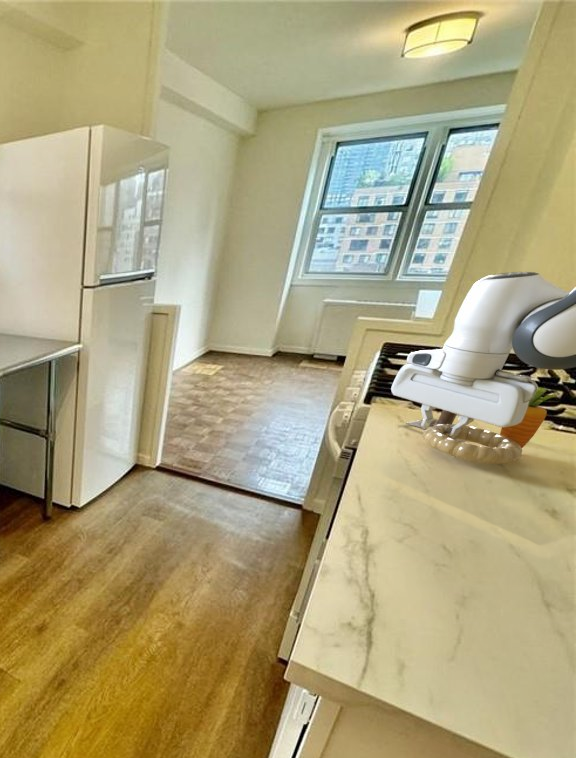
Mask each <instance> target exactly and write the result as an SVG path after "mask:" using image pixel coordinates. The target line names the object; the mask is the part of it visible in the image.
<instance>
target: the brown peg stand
mask: <svg viewBox="0 0 576 758" xmlns="http://www.w3.org/2000/svg"><path fill="white" fill-rule="evenodd" d="M457 415H458V414H455V413H452V412H449V411H445V410H442V411H441V413H440V414H439V417H438V419H437V422H436V423H435V425H439V424H454V422H455V420H456V418H457ZM422 421H423V419H420V420H419V419H418V420H413V421H409V422H405V424H406V425H409V426H411V427H415V428H418V429H421V430H422V431H425V430H426V429H427V428H426V427H423V426H421V423H422ZM451 439H453V438H451Z"/></svg>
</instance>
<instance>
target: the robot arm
mask: <svg viewBox="0 0 576 758" xmlns="http://www.w3.org/2000/svg"><path fill="white" fill-rule="evenodd" d="M511 351H513V352H514V354H515V356H516V357H517V358H518V359H519V360H520V361H521V362H523V363H525V364H526V365H529V366H531V367H534V368H537V369H542V370H550V371H558V370H569V369H573V368H576V286H575V287H574V288H573V289H572V290H571V291H568V290H565V289H563V288H561V287H559V286H557V285H555V284H554V283H552V282H550V281H549V280H547V279H545V278H544V277H543V276H542V275H541V274H540V273H538V272H534V271H512V272H501V273H495V274H491V275H487V276H485V277H482V278H481V279H480V280H478V281H476V282H475V283H474V284H473V285H472V286H471V288H470V289H469V290H468V292H467V293H466V296H465V298H464V299H463V301H462V304H461V305H460V307H459V309H458V311H457V313H456V316H455V318H454V321H453V330H452V332H451V334H450V335H449V337H448V338H447V339H446V341H444V345H443V347H442V348H434V349H427V350H418V351H413V352H410V353H409V354H408V355H407V358H406V362H407V363H406V364H404V365H402V366H401V367H400V369H399V371H398V372H397V374H396V375H395V378H394V379H393V382H392V384H391V388H390V390H391V394H392V395H393V396H396V397H398V398H401V399H405V400H409V401H411V402H415V403H419V404H421V407H420V412H421V416H422V418H423V419H422V420H423V421H422V423H421V426H423V427H426V428H428V427H430V426H434V425H435V423H436V422H437V420H438V419H437V418H434V414H433V410H436V409H439V410H442V411H443V410H445V411H449V412H452V413H455V414H457V415H458V418H457V421H459V422H458V423H457V424H454V425H451V426H450V425H449V426H447V428H446V431H445V432H444V433H445V434H447V435H450V436H453V437H454V436H457V435H458V434H459V433H460V431H461V428H463V427H465V426H468V425H470V424H472V423H473V422H474V421H475V420H476V421H479V422H483V423H486V424H490V425H492V426H496V427H498V428H499V427H500V428H502V427H510V426H514V425H517V424H519V423H521V422H522V420H523V418H524V416H525V413H526V411H527V408H528V404H529V401H530V400H531V399H532V398H533V397H534V395H535V393H536V391H537V389H538V388H539V386H538V384H537V383H536V381H535V380H533V379H532V377H531V376H529V375H525V374H517V373H515V372H511V371H506V370H503V367H504V365H505V363H506V361H507V359H508V357H509V355H510V353H511Z"/></svg>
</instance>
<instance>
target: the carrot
mask: <svg viewBox="0 0 576 758" xmlns="http://www.w3.org/2000/svg"><path fill="white" fill-rule="evenodd" d="M545 393H547V389H545V388H544V387H538V389H537V391H536V393H535V395H534V397H533V398H532V399H531V400H530V401H529V404H528V408H527V411H526V413H525V416H524V418H523V420H522V422H521V423H519V424H517V425H514V426H510V427H501V429H500V432H499V434H500V435H503V436H505V437H507V438H509V439H511V440H513V441H515V442H516V443H517V444H518V445H520V446H521V448H522V449H523V448H524V447H525V446H526V445H527V444H528V443H529V442H530V441H531V439H533V437H534V436H535V434H536V433H537V432H538V430H539V428H540V427H541V426H542V424H543V422H544V420H545V419H546V418H547V414H548V413H547V412H548V411H547V410H546V408H544V407H542V406H539V405H540V404H541V403H543V402H545V401H546V400H549V399H553V398H557V397H558V395H557V394H556V393H553V394H547V395H545V396H542V395H544V394H545Z"/></svg>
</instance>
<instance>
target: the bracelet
mask: <svg viewBox="0 0 576 758" xmlns="http://www.w3.org/2000/svg"><path fill="white" fill-rule="evenodd" d="M449 425H450V426H451V425H455V424H454V423H452V424H439V425H434V426H430V427H428V428H427V429H426V430H424V432H423V433H422V438H423V440H424V441H425V442H426V444H427V445H428V446H429V447H432V448H433V449H434V450H437V451H439V452H442V453H445V454H447V455H449V456H453V457H456V458H460V459H463V460H467V461H472V462H473V461H474V462H478V463H484V464H485V463H486V464H508V463H512V462H516V461H518V460H519V459H520V458H521V457H522V454H523V448H521V446H520V445H518V444H517V443H516V442H515V441H513V440H511V439H509V438H507V437H505V436H503V435H500V433H497V432H493V431H490V430H487V429H483V428H479V427H474V426H471V425H470V426H468V425H466V426H465V427H463V428H461V431H460V433H459V434H458V435H457V436H454V437H453V436H450V435H447V434H445V433H444V432H445V431H446V428H447V426H449ZM451 438H453V439H451ZM460 440H461V441H460ZM462 441H463V442H462ZM464 441H468V442H471V443H474V444H471V443H467V442H464ZM476 444H478V445H476Z"/></svg>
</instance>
